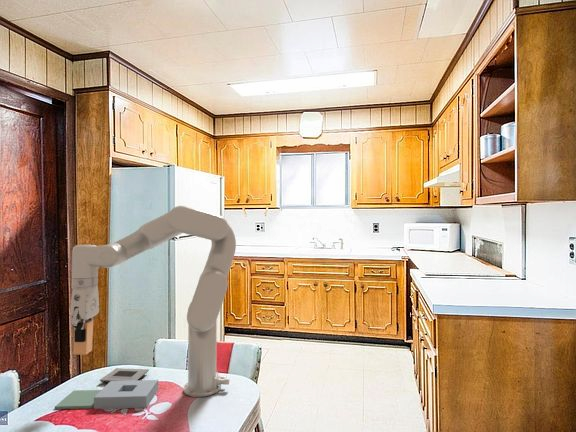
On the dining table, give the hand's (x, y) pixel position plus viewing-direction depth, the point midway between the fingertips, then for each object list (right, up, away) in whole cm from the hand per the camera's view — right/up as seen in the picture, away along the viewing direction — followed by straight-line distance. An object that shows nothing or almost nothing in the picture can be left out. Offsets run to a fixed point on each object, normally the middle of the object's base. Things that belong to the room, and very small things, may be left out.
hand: (83, 338), depth 121 cm
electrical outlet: (+6, -21, +16) cm, 27 cm away
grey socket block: (+14, -20, 0) cm, 24 cm away
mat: (0, -20, 0) cm, 20 cm away
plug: (0, -4, 0) cm, 4 cm away
